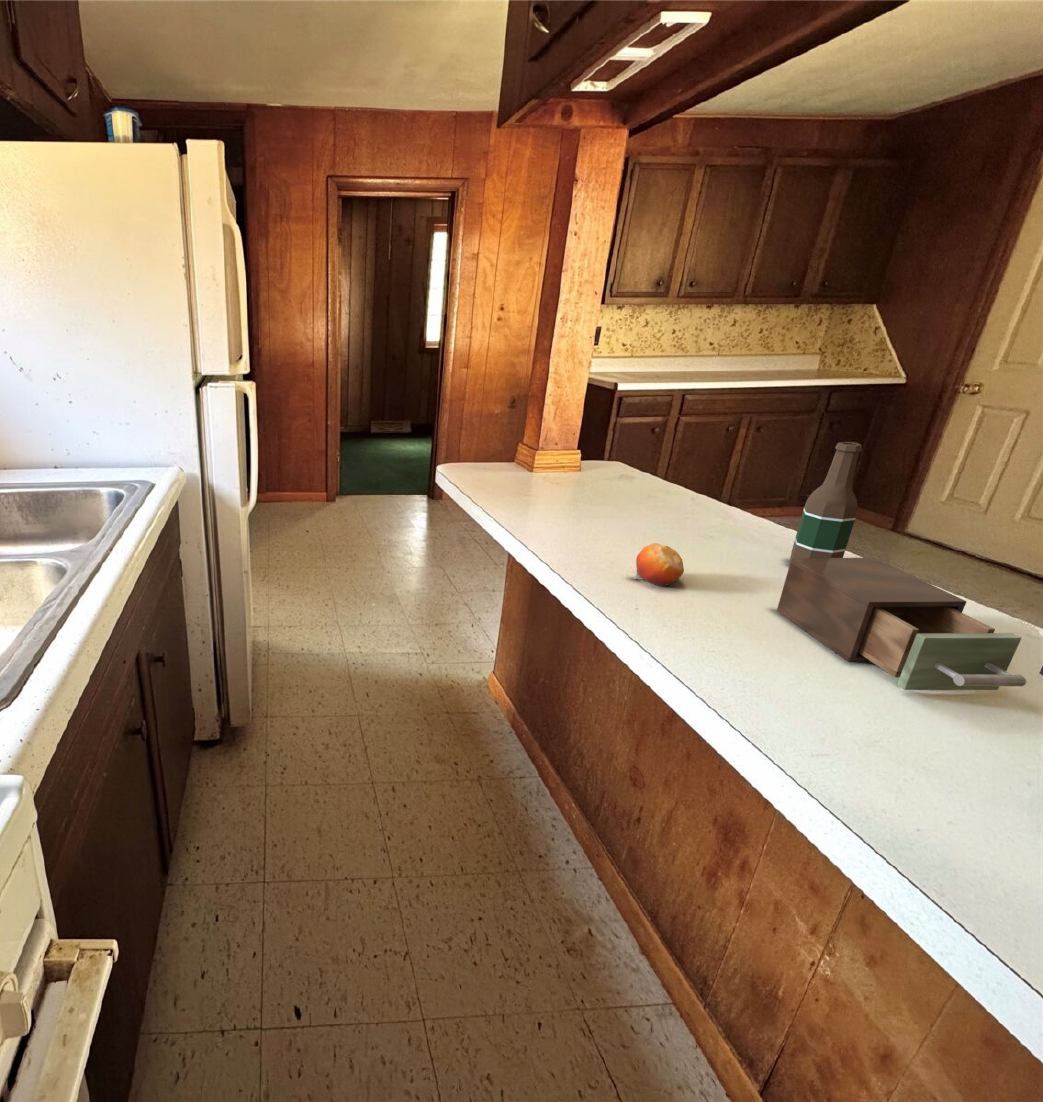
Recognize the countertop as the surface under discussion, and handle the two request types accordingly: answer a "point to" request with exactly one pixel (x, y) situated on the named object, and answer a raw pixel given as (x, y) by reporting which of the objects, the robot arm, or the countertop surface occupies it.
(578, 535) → the countertop surface
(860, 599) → the cabinet
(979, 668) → the drawer
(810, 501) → the beer bottle
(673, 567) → the fruit
